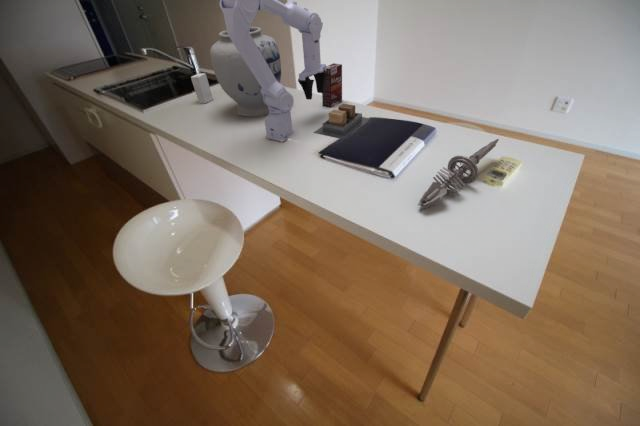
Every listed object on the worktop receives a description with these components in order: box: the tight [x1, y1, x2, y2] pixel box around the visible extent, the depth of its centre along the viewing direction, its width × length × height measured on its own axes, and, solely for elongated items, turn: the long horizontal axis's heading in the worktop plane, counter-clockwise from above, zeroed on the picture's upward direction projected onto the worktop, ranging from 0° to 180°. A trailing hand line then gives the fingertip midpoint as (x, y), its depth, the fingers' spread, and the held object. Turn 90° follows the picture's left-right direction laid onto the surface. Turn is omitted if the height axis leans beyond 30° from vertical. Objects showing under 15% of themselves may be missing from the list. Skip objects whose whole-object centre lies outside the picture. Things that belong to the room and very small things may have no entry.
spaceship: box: [417, 138, 500, 209], centre depth 73 cm, size 8×35×8 cm
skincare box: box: [190, 73, 214, 104], centre depth 135 cm, size 6×4×12 cm
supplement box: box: [321, 63, 343, 109], centre depth 119 cm, size 9×5×16 cm, turn 143°
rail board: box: [313, 112, 371, 140], centre depth 105 cm, size 20×13×4 cm, turn 147°
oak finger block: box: [328, 109, 346, 126], centre depth 102 cm, size 4×5×6 cm
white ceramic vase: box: [209, 26, 282, 118], centre depth 117 cm, size 27×27×30 cm
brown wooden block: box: [337, 103, 356, 120], centre depth 105 cm, size 4×5×6 cm
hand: (314, 95), depth 107 cm, fingers open, 7 cm apart
